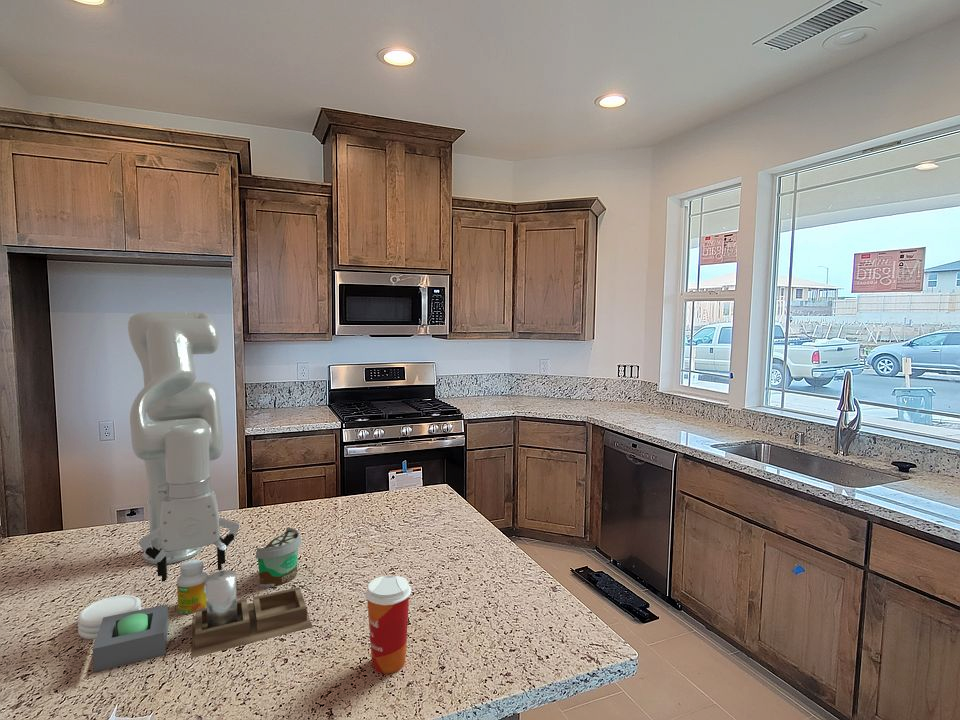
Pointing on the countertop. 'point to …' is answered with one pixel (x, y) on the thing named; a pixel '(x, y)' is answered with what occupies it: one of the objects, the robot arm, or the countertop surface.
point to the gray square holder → (130, 640)
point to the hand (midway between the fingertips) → (192, 573)
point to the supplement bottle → (191, 587)
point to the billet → (221, 598)
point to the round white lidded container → (104, 613)
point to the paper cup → (388, 622)
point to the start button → (133, 624)
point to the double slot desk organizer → (252, 622)
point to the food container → (279, 559)
